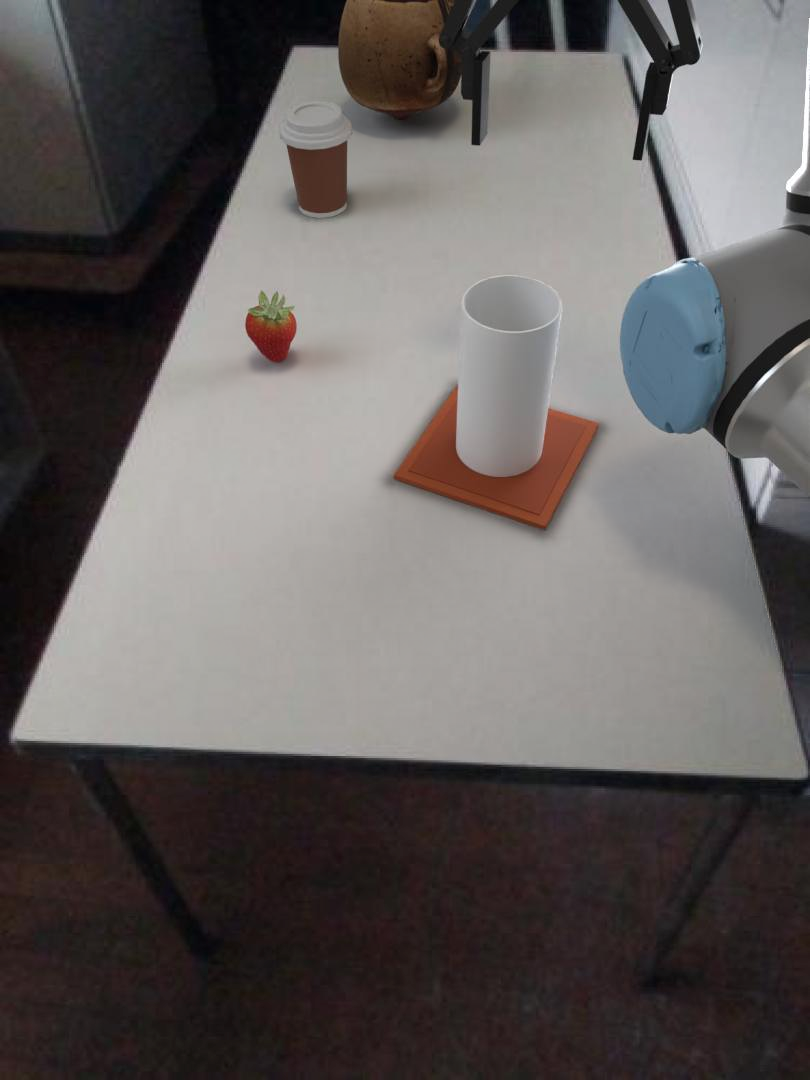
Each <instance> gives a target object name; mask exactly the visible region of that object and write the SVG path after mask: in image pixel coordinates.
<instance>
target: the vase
mask: <svg viewBox="0 0 810 1080" xmlns="http://www.w3.org/2000/svg"><path fill="white" fill-rule="evenodd" d="M454 2H455V0H346V1H345V5H344V8H343V11H342V14H341V20H340V24H339V30H338V31H339V32H338V45H337V47H338V50H337V51H338V53H337V55H338V56H337V57H338V59H337V60H338V67H339V73H340V77H341V80H342V83H343V84H344V87H345V89H346V91H347V93H348V94H349V96H350V97H351V99H352V100H354V101H355V102H356V103H357V104H358V105H360V106H362V107H364V108H367V109H370V110H372V111H375V112H378V113H382V114H385V115H387V116H389V117H392V118H393V119H394V120H396V121H398V122H399V121H400V122H401V121H406V120H408V118H410V117H412V116H414V115H415V114H418V113H421V112H423V111H427V110H430V109H433V108H436V107H438V106H440V105H441V104H443V103H444V102H446V101H447V100H448V99H449V98H450V97H452V96H453V95H454V93H455V91H456V89H457V88H458V86H459V84H460V82H461V57H460V55H459V54H458V53H457V52H455V51H453V50H451V49H449V48H448V49H444V48H442V47H441V46H440V44H439V36H440V34H441V31H442V29H443V27H444V24H445V22H446V20H447V18H448V15H449V13H450V11H451V9H452V6H453V4H454Z"/></svg>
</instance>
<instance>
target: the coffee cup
mask: <svg viewBox="0 0 810 1080" xmlns="http://www.w3.org/2000/svg"><path fill="white" fill-rule="evenodd" d="M278 130H279V139H280V140H281V141H282V142H283V143H284V144H285V145H286V150H287V154H288V159H289V164H290V165H289V166H290V169H291V174H292V179H293V183H294V189H295V193H296V199H297V203H298V210H299V211H300V212H301V213H302V214H303V215H305V216H307V217H310V218H315V219H324V218H327V219H328V218H332V217H335V216H338V215H340V214H342V213H343V212H345V211H346V209H347V207H348V140H349V139H350V137H351V136H352V135H353V125H352V122H351V120H350V119H348V117H346V116H345V115H344V113H343V109H342V108H341V107H340V106H339V105H337V104H336V103H332V102H330V101H324V100H323V101H322V100H310V101H309V100H308V101H304V102H301V103H300V102H299V103H297V104H295V105H293V106H291V107H289V109H288V110H287V111H286V113H285V119H284V120H283V121H282V123H280V125H279V127H278Z"/></svg>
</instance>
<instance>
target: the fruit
mask: <svg viewBox="0 0 810 1080" xmlns="http://www.w3.org/2000/svg"><path fill="white" fill-rule="evenodd" d="M257 298H258V305H257V306H254V307H250V308H248V309H247V312H248V313H247V314H246V316H245V324H244V326H245V332H246V335H247V337H248V338H249V339H250V340H251V341H252V342H253V344H254V345H255V347H256V348H257V350H258V351H259V352H260V353H261V355H262V356H264V357H265V358H266V359H267V360H269V361H271V362H274V363H279V362H284V360H286V359H287V356H288V355H289V352H290V348H291V344H292V342H293V340H294V339H295V337H296V334H297V320H296V317H295V315H294V314H293V313H292V311H293V310H294V309H295V305H291V306H285V307H284V305H285V303H286V297H285V294H284V293H282V297H281V298H280V300H279V292H278V291H277V290H276V291H275V292H274V294H273V295H272V297H271V300H270V301H269V298H268V296H267V294H266V293H265V292H264V290H261V291H260V293H259V294H258V297H257Z"/></svg>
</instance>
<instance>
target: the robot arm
mask: <svg viewBox="0 0 810 1080" xmlns="http://www.w3.org/2000/svg"><path fill="white" fill-rule="evenodd" d="M476 2H477V0H455V2H454V4H453V6H452V9H451V11H450V13H449V15H448V18H447V20H446V22H445V24H444V27H443V29H442V31H441V34H440V36H439V44H440V46H441V47H442V48H444V49H448V48H449V49H451V50H453V51H455V52H457V53H458V54H459V55H460V57H461V77H460V94H461V97H462V100H467V101H472V102H471V103H472V106H471V136H470V137H471V140H470V141H471V143H470V145H471V146H477V147H478V146H481V145H482V143H483V141H484V140H485V138H486V137H487V135H488V131H489V128H488V126H489V104H490V103H489V102H490V101H489V100H490V77H491V75H490V74H491V51H489V50H487V51H486V50H481V48H482V46H483V45H484V44H485V42H486V41H487V40H488V39H489V37H490V36H491V35H492V34H493V33H494V31H495V30H496V29H497V28H498V27H499V25H500V24H501V23H502V22H503V21H504V19H505V18H506V17H507V15H508V14H509V13H511V12H510V11H512V9H513V8H514V7H515V6H516V5H517V3H518V2H519V0H496V2H494V4H493V5H492V7H490V9H489V10H488V12H487V13H486V14H485V16H483V18H482V19H481V20H480V22H479V23H478V24H477V26H476V27H475V28H474V29H473V30H472V32H471V33H470V32H468V31H466V30H465V29H464V28H465V26H466V24H467V21H468V20H469V18H470V16H471V13H472V10H473V9H474V7H475V4H476ZM617 2H618V4H619V6H620V8H621V9H622V10H623V12H624V15H626V17H627V19H628V20H629V22H630V24H631V26H632V27H633V29H634V31H635V32H636V34H637V36H638V37H639V39H640V41H641V42H642V44H643V47H644V48H645V49H646V51H647V52H648V54H649V56H650V58H651V60H652V61H650V62H649V64H648V67H647V70H646V73H645V78H644V85H643V91H642V98H641V104H640V110H639V117H638V123H637V128H636V129H637V130H636V135H635V141H634V147H633V148H634V149H633V154H632V161H641V162H642V161H643V158H644V154H645V152H646V148H647V144H648V143H647V142H648V135H649V132H650V131H649V129H650V125H651V124H650V123H651V120H652V119H651V118H652V115H655V116H663V115H664V113H665V111H666V110H667V107H668V104H669V98H670V93H671V87H672V82H673V76H674V72H675V71H676V70H677V69H679V68H680V67H684V66H687V65H688V66H693V65H695V64H697V63H698V62H699V60H700V59H701V54H702V50H703V46H704V45H703V40H702V36H701V33H700V32H701V31H700V28H699V24H698V21H697V17H696V13H695V8H694V5H693V1H692V0H667V3H668V7H669V11H670V14H671V19H672V22H673V26H674V30H675V34H676V37H677V41H678V44H676V45H674V43H673V41H672V40H671V38H670V36H669V35H668V33H667V31H666V29H665V28H664V26H663V25H662V23H661V21H660V20H659V17H658V16H657V14H656V12H655V10H654V9H653V7H652V6H651V4H650V2H649V0H617ZM808 21H809V22H808V23H809V24H808V43H807V62H806V63H807V64H806V83H805V99H804V100H805V101H804V102H805V103H804V121H803V123H804V124H803V141H802V142H803V143H802V163H801V166H800V168H799V169H798V170H796V172H795V173H794V174H793V176H791V178H790V179H789V180H788V181H787V182H786V191H785V194H786V195H785V196H786V198H785V200H786V201H785V209H784V215H783V216H782V219H781V222H780V223H779V225H778V226H777V227H776V228H775V229H773V230H769V231H767V232H764V233H760V234H758V235H755V236H752V237H750V238H749V237H748V238H746V239H744V240H741V241H737V242H735V243H731V244H729V245H727V246H724V247H721V248H718V249H715V250H712V251H709V252H707V253H703V254H701V255H698V256H695V257H688V258H683V259H680V260H678V261H676V262H675V263H673V265H672V266H670V267H668V268H664V269H663V270H661V271H658V272H656V273H654V274H652V275H650V276H648V277H647V278H645V280H643V281H641V282H640V283H639V285H638V286H637V287H636V288H635V289H634V291H633V292H632V294H631V295H630V297H629V299H628V300H627V303H626V306H625V308H624V311H623V313H622V318H621V323H620V330H619V354H620V360H621V364H622V372H623V376H624V381H625V382H626V385H627V388H628V391H629V393H630V395H631V398H632V400H633V402H634V404H635V405H636V407H637V408H638V409H639V411H640V412H641V414H642V415H643V417H644V418H646V420H647V421H648V422H649V423H650V424H651V425H653V426H654V428H657V429H659V430H660V431H661V432H664V433H667V434H678V435H682V434H684V435H691V434H693V433H697V432H698V431H700V430H701V429H704V430H706V432H707V433H709V434H710V436H712V438H714V439H715V440H716V441H717V442H718V443H719V444H720V445H721V446H722V447H723V448H724V449H725V450H726V451H727V452H728V453H729V454H730V455H732V456H733V457H734V458H737V459H764V458H765V459H767V460H768V461H770V462H771V463H772V465H774V466H775V467H776V468H777V469H778V470H779V471H780V472H781V473H782V474H783V475H784V476H785V477H787V479H789V480H790V482H792V483H793V484H794V485H795V486H796V487H797V488H798V489H799V490H800V491H801V492H802V493H803V494H804V495H805V496H807V497H808V499H810V19H809V20H808Z"/></svg>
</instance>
